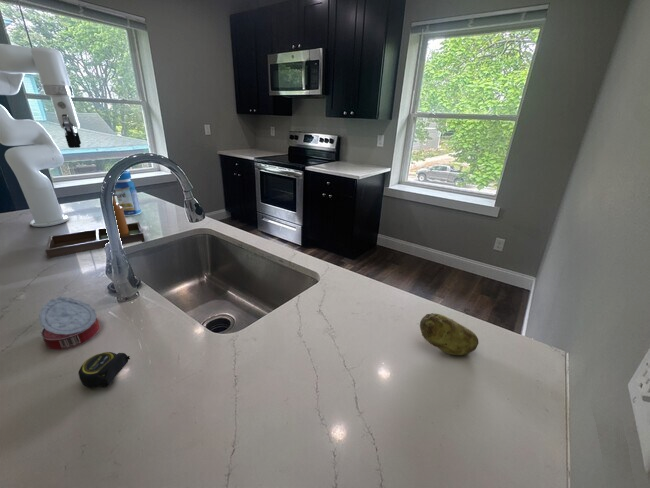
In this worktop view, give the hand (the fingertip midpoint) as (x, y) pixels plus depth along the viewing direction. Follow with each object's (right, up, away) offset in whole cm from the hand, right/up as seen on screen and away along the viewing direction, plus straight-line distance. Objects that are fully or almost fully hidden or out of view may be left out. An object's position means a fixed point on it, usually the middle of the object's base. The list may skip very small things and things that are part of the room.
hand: (75, 145), depth 106 cm
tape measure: (+46, -62, -47) cm, 90 cm away
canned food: (+31, -56, -37) cm, 74 cm away
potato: (+117, -59, -36) cm, 136 cm away
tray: (+4, -35, +7) cm, 36 cm away
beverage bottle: (-4, -21, +36) cm, 42 cm away
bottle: (+9, -33, +10) cm, 35 cm away
